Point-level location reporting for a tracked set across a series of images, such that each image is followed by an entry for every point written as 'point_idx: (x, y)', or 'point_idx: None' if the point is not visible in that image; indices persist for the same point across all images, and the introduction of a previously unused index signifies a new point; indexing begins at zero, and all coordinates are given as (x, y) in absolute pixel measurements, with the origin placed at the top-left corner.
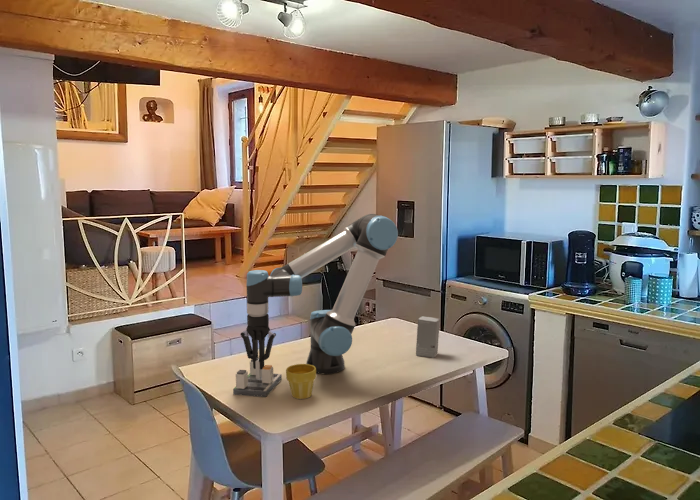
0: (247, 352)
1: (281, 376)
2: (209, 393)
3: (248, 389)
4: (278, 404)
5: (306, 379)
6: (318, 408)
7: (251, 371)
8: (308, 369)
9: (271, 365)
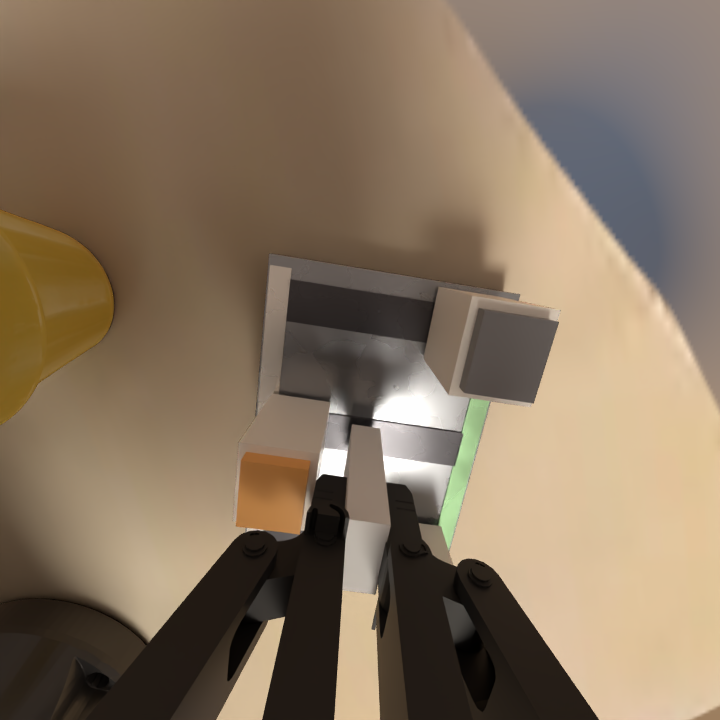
0: (533, 645)
1: None
2: (661, 302)
3: (406, 290)
4: (159, 130)
5: None
6: None
7: (435, 543)
8: None
9: (239, 521)
